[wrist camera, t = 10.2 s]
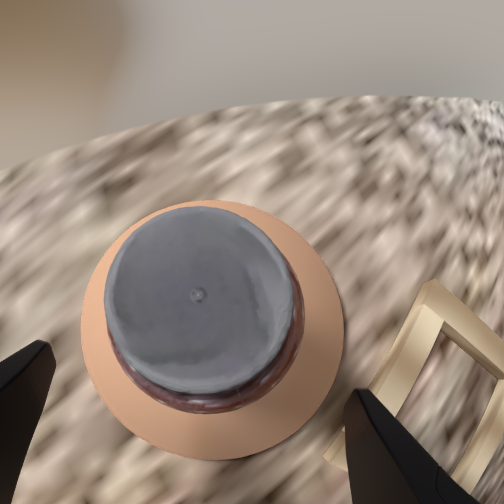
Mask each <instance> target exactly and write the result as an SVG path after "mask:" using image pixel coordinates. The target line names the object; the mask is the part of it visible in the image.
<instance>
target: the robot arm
mask: <svg viewBox="0 0 504 504" xmlns="http://www.w3.org/2000/svg"><path fill="white" fill-rule="evenodd" d="M55 369H56V360H55V357H54V354H53V351H52V347H51V345H50V343H48V342H46V341H42V340H36V341H34V342H32V343H31V344H29V345H27V346H26V347H24V348H23V349H21V350H19V351H18V352H16V353H14V354H13V355H11V356H9V357H8V358H6V359H5V360H3V361H1V362H0V504H11V502H12V498H13V495H14V491H15V488H16V485H17V481H18V478H19V475H20V472H21V469H22V466H23V463H24V460H25V457H26V454H27V451H28V448H29V445H30V443H31V440H32V437H33V434H34V432H35V429H36V427H37V424H38V421H39V419H40V416H41V414H42V411H43V408H44V405H45V402H46V398H47V395H48V392H49V388H50V385H51V382H52V378H53V375H54V372H55ZM344 425H345V450H346V460H347V467H348V474H349V481H350V488H351V495H352V503H353V504H480V503H479V502H478V501H477V500H476V499H475V498H473V497H472V496H471V495H470V494H469V493H467V492H466V491H465V490H464V489H463V488H462V487H461V486H460V485H459V484H457V483H456V482H455V481H454V480H453V479H452V478H451V477H450V476H449V475H448V474H447V473H446V471H445V470H444V469H443V468H442V467H441V466H438V463H437V462H436V461H435V460H434V459H433V458H432V457H431V456H430V454H429V453H428V452H427V451H426V450H425V449H424V448H423V447H422V446H421V445H420V444H419V443H418V442H417V440H416V439H415V438H414V437H413V436H412V435H411V434H410V433H409V432H408V431H407V430H406V429H405V428H404V426H403V425H402V424H401V423H400V422H399V421H398V420H397V419H396V418H395V417H394V416H393V415H392V413H391V412H390V411H389V410H388V409H387V408H386V407H385V406H384V405H383V404H382V403H381V402H380V400H379V399H378V398H377V397H376V396H375V395H374V394H373V393H372V392H371V391H370V390H369V389H367V388H356V389H354V390H353V392H352V394H351V395H350V397H349V399H348V400H347V402H346V404H345V407H344Z"/></svg>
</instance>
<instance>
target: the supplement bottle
mask: <svg viewBox="0 0 504 504" xmlns="http://www.w3.org/2000/svg"><path fill="white" fill-rule="evenodd" d="M104 309H105V316H106V324H107V332H108V336H109V340H110V344H111V347H112V350H113V353H114V355H115V357H116V359H117V361H118V363H119V364H120V365H121V367H122V369H123V371H124V372H125V374H126V375H127V376H128V377H129V378H130V379H131V381H132V382H133V383H134V384H135V385H136V386H137V387H138V388H139V389H141V390H142V391H143V392H144V393H145V394H147V395H148V396H150V397H151V398H153V399H154V400H156V401H157V402H159V403H161V404H163V405H165V406H167V407H170V408H173V409H176V410H180V411H183V412H187V413H194V414H219V413H225V412H231V411H234V410H238V409H240V408H242V407H245V406H247V405H249V404H251V403H253V402H255V401H257V400H258V399H260V398H262V397H263V396H265V395H266V394H267V393H269V392H270V391H271V390H272V389H273V388H274V387H275V386H276V385H277V384H278V383H279V382H280V381H281V380H282V379H283V378H284V376H285V375H286V374H287V372H288V371H289V369H290V368H291V366H292V364H293V362H294V360H295V358H296V356H297V354H298V351H299V349H300V346H301V342H302V338H303V333H304V325H305V308H304V298H303V294H302V290H301V287H300V284H299V281H298V278H297V275H296V274H295V272H294V270H293V268H292V266H291V265H290V263H289V261H288V260H287V259H286V257H285V256H284V255H283V253H282V252H281V251H280V250H279V248H277V246H276V245H275V244H274V243H273V242H272V240H271V239H270V238H269V237H268V236H267V235H266V234H265V233H264V231H262V230H261V229H260V228H259V227H257V226H256V225H255V224H253V223H252V222H250V221H249V220H247V219H246V218H244V217H241V216H239V215H238V214H235V213H233V212H231V211H228V210H224V209H220V208H214V207H206V206H194V207H183V208H177V209H173V210H170V211H167V212H164V213H162V214H160V215H157V216H155V217H153V218H152V219H150V220H148V221H147V222H145V223H144V224H143V225H141V226H140V227H138V228H137V229H136V230H135V231H134V232H132V233H131V235H130V236H129V237H128V238H127V239H126V240H125V241H124V243H123V244H122V246H121V247H120V249H119V251H118V252H117V254H116V255H115V258H114V260H113V262H112V264H111V266H110V268H109V272H108V275H107V279H106V283H105V291H104Z"/></svg>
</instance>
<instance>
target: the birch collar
mask: <svg viewBox="0 0 504 504" xmlns="http://www.w3.org/2000/svg"><path fill="white" fill-rule="evenodd" d="M439 331H441V332H443V333H444V334H445V335H446V336H448V337H449V338H450V339H451V340H452V341H454V342H455V343H456V344H457V345H458V346H460V347H461V348H462V349H463V350H464V351H466V352H467V353H468V354H469V355H470V356H472V357H473V358H474V359H475V360H476V361H477V362H479V363H480V364H481V365H482V366H483V367H484V368H486V369H487V370H488V371H489V372H490V373H491V374H493V375H494V376H495V377H496V378H497V379H498V382H497V385H496V387H495V390H494V392H493V395H492V397H491V399H490V402H489V404H488V406H487V409H486V411H485V413H484V415H483V417H482V420H481V422H480V424H479V426H478V428H477V430H476V432H475V434H474V436H473V438H472V440H471V442H470V444H469V445H468V447H467V449H466V451H465V453H464V455H463V456H462V458H461V460H460V462H459V463H458V465H457V467H456V468H455V470H454V472H453V473H452V475H451V478H452V479H453V480H454V481H455V482H456V483H457V484H459V485H460V486H461V487H462V488H463V489H464V490H465V491H466V492H467V493H469V494H471V492H472V491H473V489H474V487H475V486H476V484H477V482H478V481H479V479H480V477H481V476H482V474H483V472H484V470H485V468H486V467H487V465H488V463H489V461H490V459H491V457H492V455H493V453H494V451H495V449H496V447H497V445H498V443H499V441H500V439H501V437H502V435H503V433H504V341H503V340H502V339H501V338H500V337H499V336H498V335H496V334H495V333H494V332H493V331H492V330H491V329H490V328H489V327H488V326H487V325H486V324H485V323H484V322H483V321H482V320H481V319H480V318H479V317H477V316H476V315H475V314H474V313H473V312H472V311H471V310H470V309H469V308H468V307H467V306H465V305H464V304H463V303H462V302H461V301H460V300H459V299H458V298H456V297H455V296H454V295H453V294H452V293H451V292H450V291H449V290H447V289H446V288H445V287H444V286H443V285H442V284H440V283H439V282H438V281H437V280H436V279H433V280H431V281H428V282H426V283H424V284H422V287H421V289H420V291H419V293H418V295H417V298H416V300H415V302H414V304H413V306H412V308H411V310H410V312H409V314H408V317H407V319H406V321H405V323H404V325H403V327H402V329H401V331H400V332H399V334H398V336H397V338H396V340H395V342H394V344H393V346H392V348H391V350H390V351H389V353H388V355H387V357H386V359H385V360H384V362H383V364H382V366H381V368H380V369H379V371H378V373H377V374H376V376H375V378H374V380H373V381H372V383H371V385H370V386H369V388H368V389H369V390H370V391H371V392H372V393H373V394H374V395H375V396H376V397H377V398H378V399H379V400H380V402H381V403H382V404H383V405H384V406H385V407H386V408H387V409H388V410H389V411H390V412H391V413H392V415H393V416H394V417H395V416H396V415H397V413H398V411H399V410H400V408H401V406H402V404H403V403H404V401H405V399H406V397H407V396H408V394H409V392H410V390H411V388H412V387H413V385H414V383H415V381H416V379H417V377H418V375H419V373H420V371H421V369H422V367H423V365H424V363H425V361H426V359H427V357H428V355H429V353H430V351H431V349H432V347H433V344H434V342H435V340H436V338H437V336H438V333H439ZM323 457H324V458H325V459H326V460H327V461H328V462H329V463H331V464H333V465H335V466H336V467H338V468H340V469H342V470H344V471H347V472H348V467H347V460H346V450H345V425H344V427H343V428H342V430H341V431H340V432H339V434H338V435H337V437H336V438H335V440H334V441H333V442H332V444H331V445H330V447H329V448H328V449H327V451H326V452H325V453H324V455H323Z"/></svg>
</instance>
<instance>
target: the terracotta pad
mask: <svg viewBox="0 0 504 504" xmlns="http://www.w3.org/2000/svg"><path fill="white" fill-rule="evenodd" d="M194 206H206V207H214V208H220V209H224V210H228V211H231V212H233V213H235V214H238V215H239V216H241V217H244V218H246V219H247V220H249V221H250V222H252V223H253V224H255V225H256V226H257V227H259V228H260V229H261V230H262V231H264V233H265V234H266V235H267V236H268V237H269V238H270V239H271V240H272V242H273V243H274V244H275V245H276V246H277V248H279V250H280V251H281V252H282V253H283V255H284V256H285V257H286V259H287V260H288V261H289V263H290V265H291V266H292V268H293V270H294V272H295V274H296V275H297V278H298V281H299V284H300V287H301V290H302V294H303V298H304V308H305V325H304V333H303V338H302V342H301V346H300V349H299V351H298V354H297V356H296V358H295V360H294V362H293V364H292V366H291V368H290V369H289V371H288V372H287V374H286V375H285V376H284V378H283V379H282V380H281V381H280V382H279V383H278V384H277V385H276V386H275V387H274V388H273V389H272V390H271V391H270V392H269V393H267V394H266V395H265V396H263V397H262V398H260V399H258V400H257V401H255V402H253V403H251V404H249V405H247V406H245V407H242V408H240V409H238V410H234V411H231V412H225V413H219V414H194V413H187V412H183V411H180V410H176V409H173V408H170V407H167V406H165V405H163V404H161V403H159V402H157V401H156V400H154V399H153V398H151V397H150V396H148V395H147V394H145V393H144V392H143V391H142V390H141V389H139V388H138V387H137V386H136V385H135V384H134V383H133V382H132V381H131V379H130V378H129V377H128V376H127V375H126V374H125V372H124V371H123V369H122V367H121V365H120V364H119V363H118V361H117V359H116V357H115V355H114V353H113V350H112V347H111V344H110V340H109V336H108V332H107V324H106V316H105V309H104V291H105V283H106V279H107V275H108V272H109V268H110V266H111V264H112V262H113V260H114V258H115V255H116V254H117V252H118V251H119V249H120V247H121V246H122V244H123V243H124V241H125V240H126V239H127V238H128V237H129V236H130V235H131V233H132V232H134V231H135V230H136V229H137V228H138V227H140V226H141V225H143V224H144V223H145V222H147V221H148V220H150V219H152V218H153V217H155V216H157V215H160V214H162V213H164V212H167V211H170V210H173V209H177V208H183V207H194ZM343 339H344V325H343V314H342V308H341V303H340V299H339V296H338V292H337V289H336V286H335V284H334V281H333V279H332V277H331V275H330V273H329V271H328V269H327V267H326V266H325V264H324V263H323V261H322V259H321V258H320V256H319V255H318V254H317V252H316V251H315V250H314V249H313V248H312V246H311V245H310V244H309V243H308V242H307V241H306V240H305V239H304V238H303V237H302V236H301V235H300V234H299V233H298V232H297V231H295V230H294V229H293V228H291V227H290V226H289V225H287V224H286V223H284V222H283V221H281V220H280V219H278V218H276V217H274V216H272V215H270V214H269V213H266V212H264V211H261V210H259V209H256V208H254V207H251V206H247V205H243V204H240V203H235V202H228V201H220V200H202V201H193V202H186V203H182V204H177V205H173V206H170V207H167V208H165V209H162V210H159V211H157V212H155V213H153V214H151V215H149V216H147V217H145V218H143V219H142V220H140V221H139V222H137V223H136V224H134V225H133V226H131V227H130V228H129V229H128V230H126V231H125V232H124V233H123V234H122V235H121V236H120V237H119V238H118V239H117V240H116V241H115V242H114V243H113V244H112V245H111V247H110V248H109V249H108V250H107V251H106V253H105V254H104V256H103V257H102V259H101V260H100V262H99V263H98V265H97V267H96V269H95V271H94V273H93V275H92V277H91V279H90V281H89V284H88V287H87V291H86V294H85V297H84V302H83V308H82V313H81V341H82V350H83V354H84V359H85V363H86V367H87V369H88V372H89V375H90V377H91V380H92V382H93V384H94V386H95V388H96V390H97V392H98V394H99V395H100V397H101V399H102V400H103V401H104V403H105V404H106V406H107V407H108V408H109V410H110V411H111V412H112V413H113V414H114V416H115V417H116V418H117V419H118V420H119V421H120V422H121V423H122V424H123V425H124V426H126V427H127V428H128V429H129V430H130V431H132V432H133V433H134V434H135V435H137V436H138V437H140V438H141V439H143V440H145V441H146V442H148V443H150V444H152V445H153V446H156V447H158V448H160V449H162V450H165V451H167V452H170V453H173V454H177V455H180V456H184V457H188V458H195V459H203V460H226V459H233V458H240V457H244V456H248V455H251V454H255V453H258V452H261V451H263V450H265V449H268V448H270V447H272V446H275V445H276V444H278V443H280V442H281V441H283V440H285V439H286V438H288V437H289V436H291V435H292V434H293V433H294V432H296V431H297V430H298V429H299V428H301V427H302V426H303V425H304V424H305V423H306V422H307V421H308V420H309V419H310V418H311V417H312V415H313V414H314V413H315V412H316V411H317V409H318V408H319V407H320V405H321V404H322V402H323V401H324V399H325V398H326V396H327V394H328V392H329V390H330V388H331V386H332V385H333V382H334V380H335V377H336V374H337V371H338V368H339V365H340V360H341V356H342V351H343Z"/></svg>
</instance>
